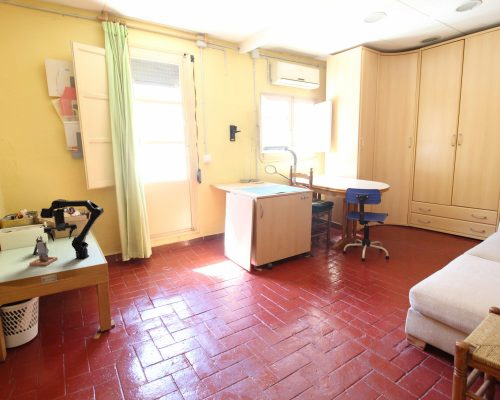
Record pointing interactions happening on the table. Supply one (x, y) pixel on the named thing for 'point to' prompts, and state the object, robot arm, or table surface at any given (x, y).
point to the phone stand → (36, 246)
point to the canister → (42, 252)
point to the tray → (37, 263)
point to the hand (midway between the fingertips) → (61, 240)
